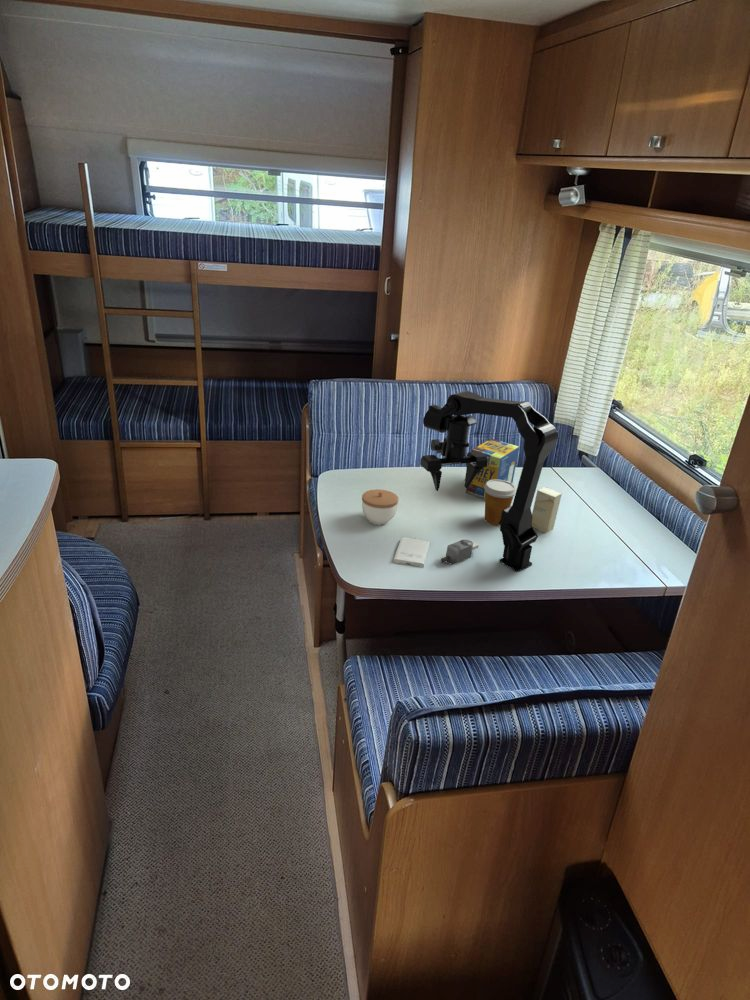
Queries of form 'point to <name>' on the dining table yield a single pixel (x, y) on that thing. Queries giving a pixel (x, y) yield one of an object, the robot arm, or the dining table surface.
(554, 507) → the skincare box
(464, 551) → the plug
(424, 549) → the external hard drive
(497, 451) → the protein box
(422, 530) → the dining table surface
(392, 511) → the lidded jar
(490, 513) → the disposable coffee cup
